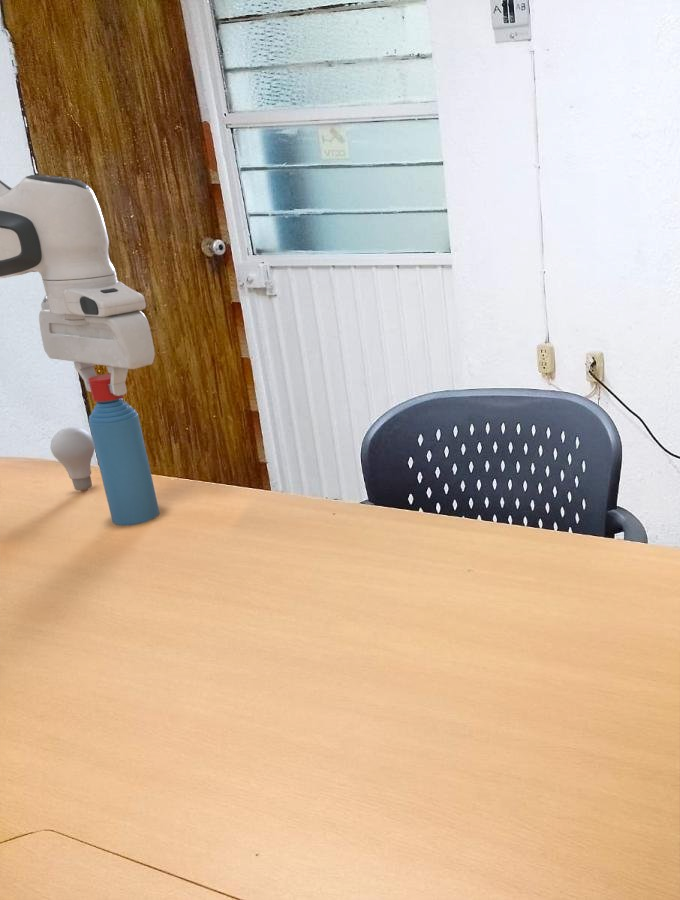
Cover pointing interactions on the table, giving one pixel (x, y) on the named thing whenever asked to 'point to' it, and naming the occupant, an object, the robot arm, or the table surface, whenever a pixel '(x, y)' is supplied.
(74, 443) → the lightbulb
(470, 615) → the table surface
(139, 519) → the bottle
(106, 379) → the cap
